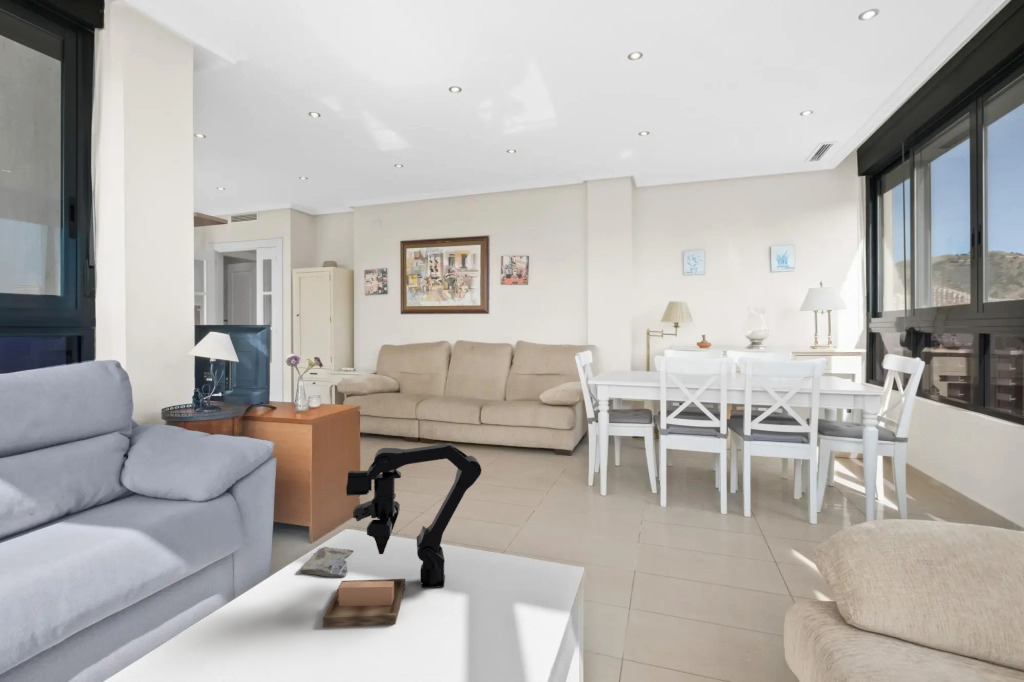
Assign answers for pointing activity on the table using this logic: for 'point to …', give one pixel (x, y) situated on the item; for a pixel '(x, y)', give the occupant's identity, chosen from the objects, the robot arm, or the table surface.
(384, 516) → the robot arm
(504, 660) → the table surface
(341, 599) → the light brown rectangular block
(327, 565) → the fossil rock
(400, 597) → the tray
